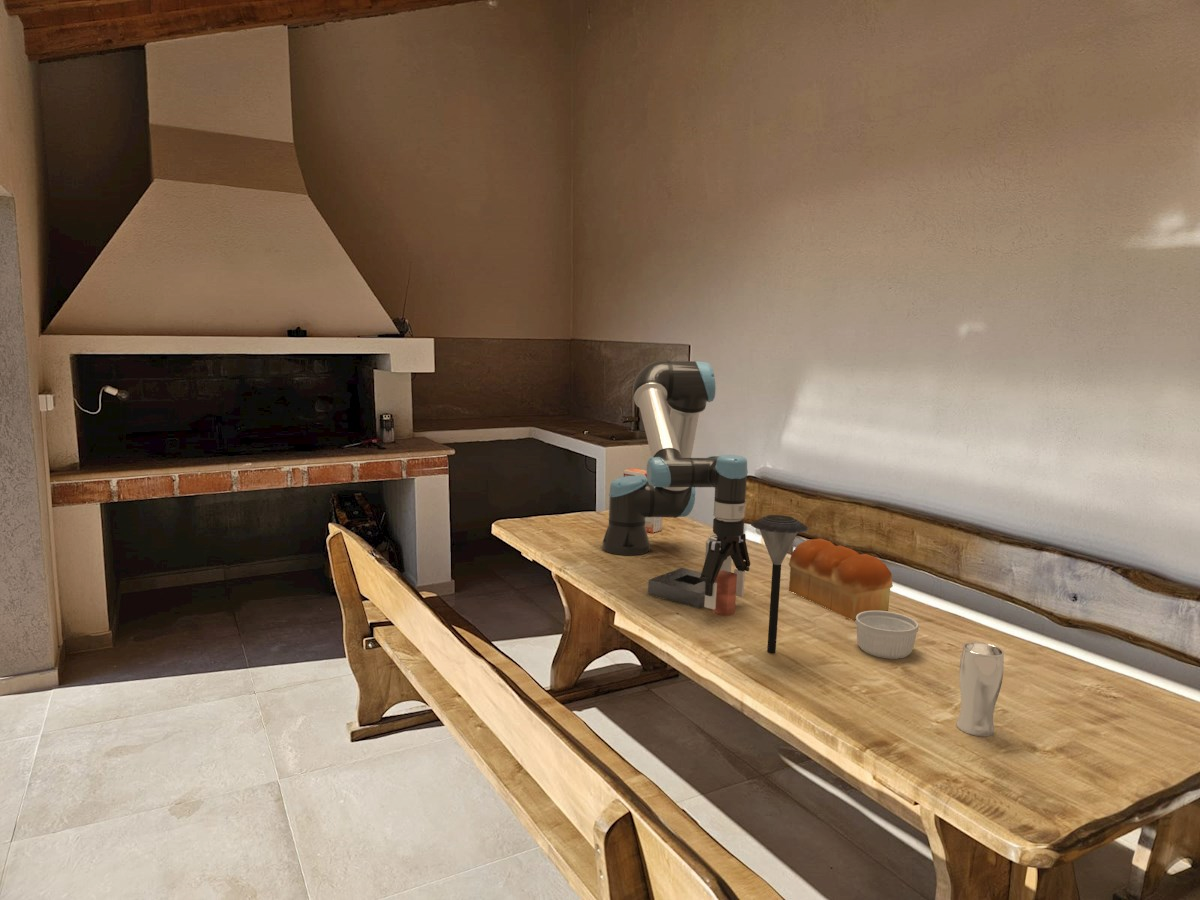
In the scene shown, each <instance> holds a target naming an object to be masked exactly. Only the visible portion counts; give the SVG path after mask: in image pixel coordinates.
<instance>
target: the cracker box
mask: <svg viewBox="0 0 1200 900" xmlns="http://www.w3.org/2000/svg"><path fill="white" fill-rule="evenodd" d="M625 476H645V477H646V478H647V469H646V470H645V469H640V468H634V467H633V468H627V469H624V470H623V477H625ZM645 529H646V532H647V533H649V532H650V533H649V534H655V533H659V532H662V531H663V517H646V518H645ZM661 530H662V531H661ZM658 531H659V532H658ZM654 532H655V533H654Z"/></svg>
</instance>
